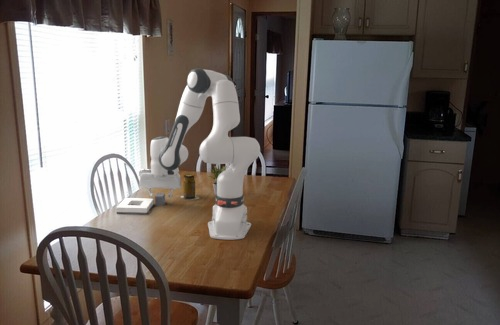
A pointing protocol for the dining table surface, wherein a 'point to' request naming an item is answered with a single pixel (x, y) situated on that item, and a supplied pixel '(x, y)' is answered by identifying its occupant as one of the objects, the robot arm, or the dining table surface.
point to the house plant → (216, 176)
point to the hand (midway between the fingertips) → (160, 196)
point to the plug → (160, 199)
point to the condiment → (189, 187)
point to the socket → (135, 206)
